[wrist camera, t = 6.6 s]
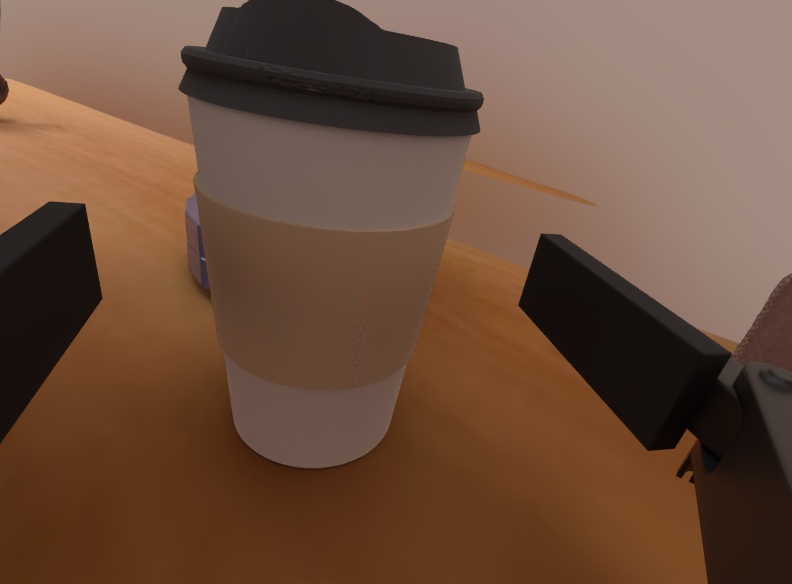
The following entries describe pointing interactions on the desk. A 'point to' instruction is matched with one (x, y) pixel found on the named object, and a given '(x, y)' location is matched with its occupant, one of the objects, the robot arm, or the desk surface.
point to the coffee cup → (322, 213)
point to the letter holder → (771, 331)
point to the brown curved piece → (3, 90)
